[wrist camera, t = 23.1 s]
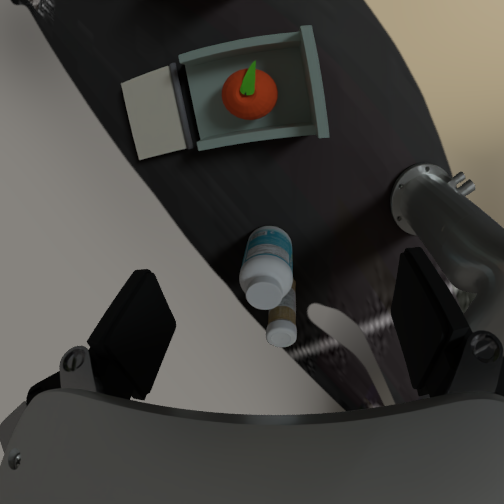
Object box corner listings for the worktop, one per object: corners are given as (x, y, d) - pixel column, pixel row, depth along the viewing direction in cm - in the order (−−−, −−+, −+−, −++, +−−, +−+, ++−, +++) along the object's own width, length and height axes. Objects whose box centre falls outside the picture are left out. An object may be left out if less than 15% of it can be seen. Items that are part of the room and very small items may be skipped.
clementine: (233, 60, 30) (222, 53, 24) (284, 68, 30) (284, 62, 24) (223, 113, 35) (210, 117, 29) (273, 122, 35) (270, 127, 29)
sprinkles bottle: (277, 295, 52) (273, 351, 41) (266, 278, 50) (260, 333, 39) (300, 287, 50) (301, 343, 39) (289, 269, 49) (289, 325, 37)
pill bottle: (277, 269, 49) (272, 325, 37) (240, 249, 48) (225, 302, 36) (300, 237, 45) (304, 290, 34) (261, 215, 44) (252, 263, 32)
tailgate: (174, 62, 30) (120, 82, 32) (192, 148, 37) (139, 161, 39) (176, 63, 31) (124, 82, 33) (194, 147, 38) (142, 159, 39)
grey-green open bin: (305, 40, 29) (311, 25, 21) (319, 128, 35) (329, 137, 28) (186, 61, 32) (161, 54, 24) (204, 144, 38) (183, 157, 31)
